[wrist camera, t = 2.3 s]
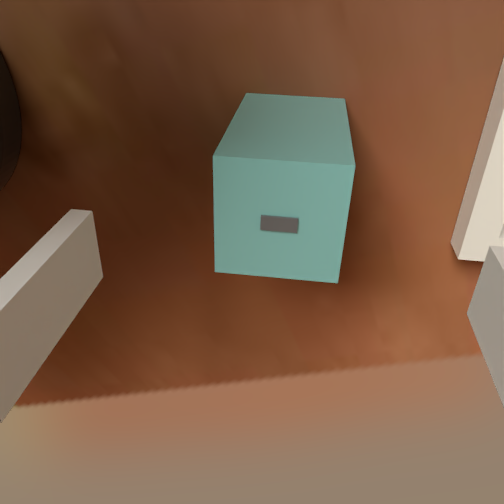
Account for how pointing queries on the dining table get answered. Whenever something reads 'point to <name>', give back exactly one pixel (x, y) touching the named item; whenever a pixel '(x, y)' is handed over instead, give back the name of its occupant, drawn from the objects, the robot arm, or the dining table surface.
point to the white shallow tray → (484, 188)
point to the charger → (283, 188)
